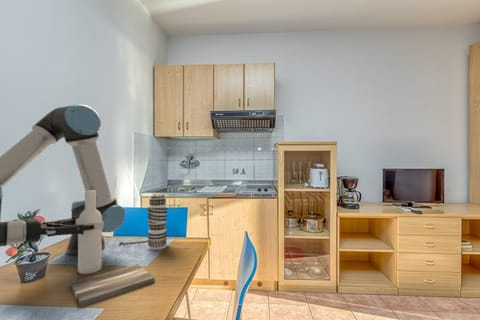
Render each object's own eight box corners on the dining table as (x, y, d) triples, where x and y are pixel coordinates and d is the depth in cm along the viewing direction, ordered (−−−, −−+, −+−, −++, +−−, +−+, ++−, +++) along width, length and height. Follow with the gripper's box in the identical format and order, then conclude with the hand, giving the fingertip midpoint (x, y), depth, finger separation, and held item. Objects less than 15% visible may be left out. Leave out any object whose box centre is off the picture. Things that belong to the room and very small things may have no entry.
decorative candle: (145, 250, 117) (146, 196, 117) (148, 244, 126) (148, 193, 126) (166, 249, 119) (167, 195, 119) (167, 242, 128) (167, 193, 128)
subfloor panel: (70, 286, 84) (70, 282, 84) (137, 267, 99) (137, 263, 99) (80, 306, 73) (80, 301, 73) (154, 281, 88) (154, 277, 88)
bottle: (90, 275, 92) (90, 192, 92) (72, 272, 94) (72, 191, 94) (106, 266, 100) (107, 189, 100) (90, 264, 102) (90, 189, 101)
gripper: (21, 235, 92) (90, 227, 107) (27, 251, 75) (108, 238, 90) (22, 214, 92) (91, 209, 107) (28, 226, 75) (108, 217, 91)
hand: (98, 222), depth 99 cm, fingers open, 10 cm apart
